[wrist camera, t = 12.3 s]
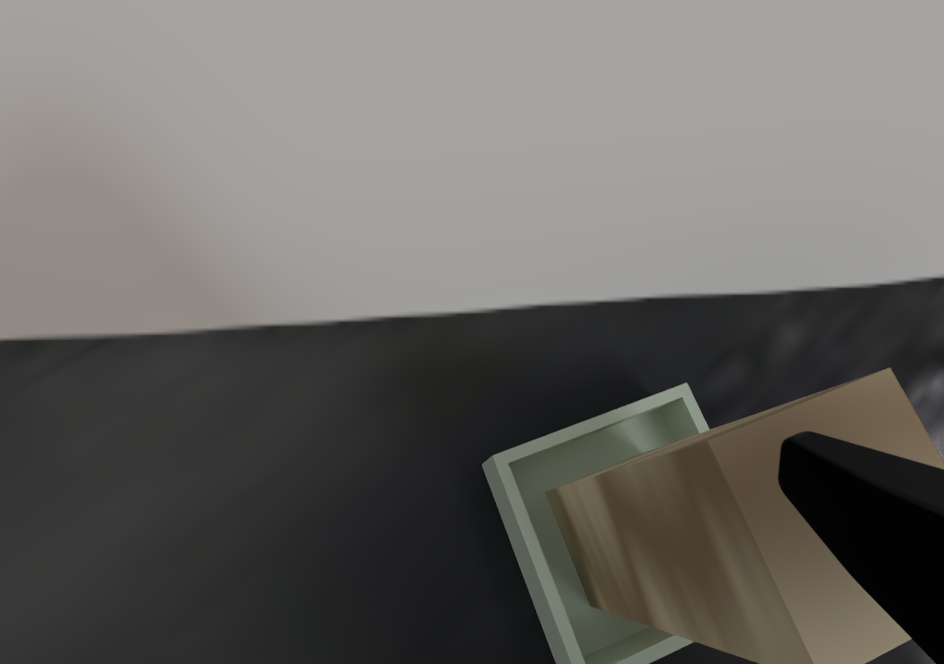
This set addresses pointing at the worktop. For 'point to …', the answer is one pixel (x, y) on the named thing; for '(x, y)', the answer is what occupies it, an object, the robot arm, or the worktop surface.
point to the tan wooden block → (738, 533)
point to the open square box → (541, 542)
